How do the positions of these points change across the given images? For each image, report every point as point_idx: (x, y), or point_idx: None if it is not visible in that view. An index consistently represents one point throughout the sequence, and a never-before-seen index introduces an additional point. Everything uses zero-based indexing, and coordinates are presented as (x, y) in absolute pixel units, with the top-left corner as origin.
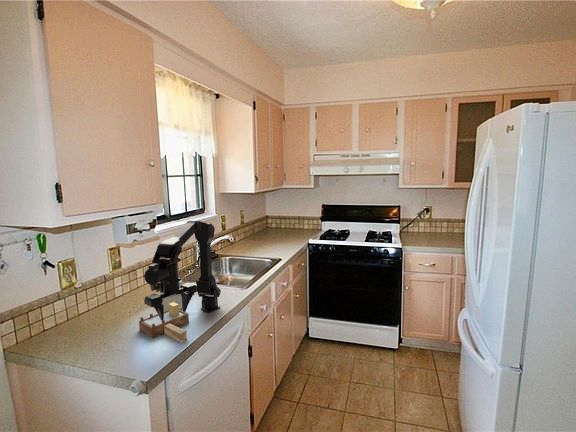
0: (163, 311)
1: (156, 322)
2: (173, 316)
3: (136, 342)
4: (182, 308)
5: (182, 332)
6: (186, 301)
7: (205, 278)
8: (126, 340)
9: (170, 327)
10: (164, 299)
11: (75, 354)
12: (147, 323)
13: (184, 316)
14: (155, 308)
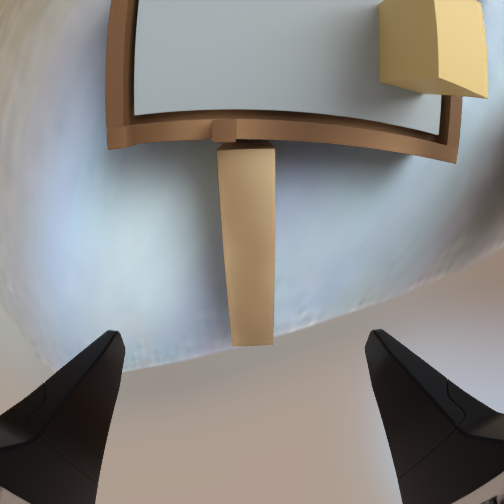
0: (100, 456)
1: (199, 53)
2: (372, 80)
3: (60, 118)
4: (383, 348)
5: (246, 342)
6: (397, 462)
7: None
8: (42, 57)
9: (235, 228)
10: None
11: None
12: (139, 16)
13: (421, 155)
14: (14, 422)
